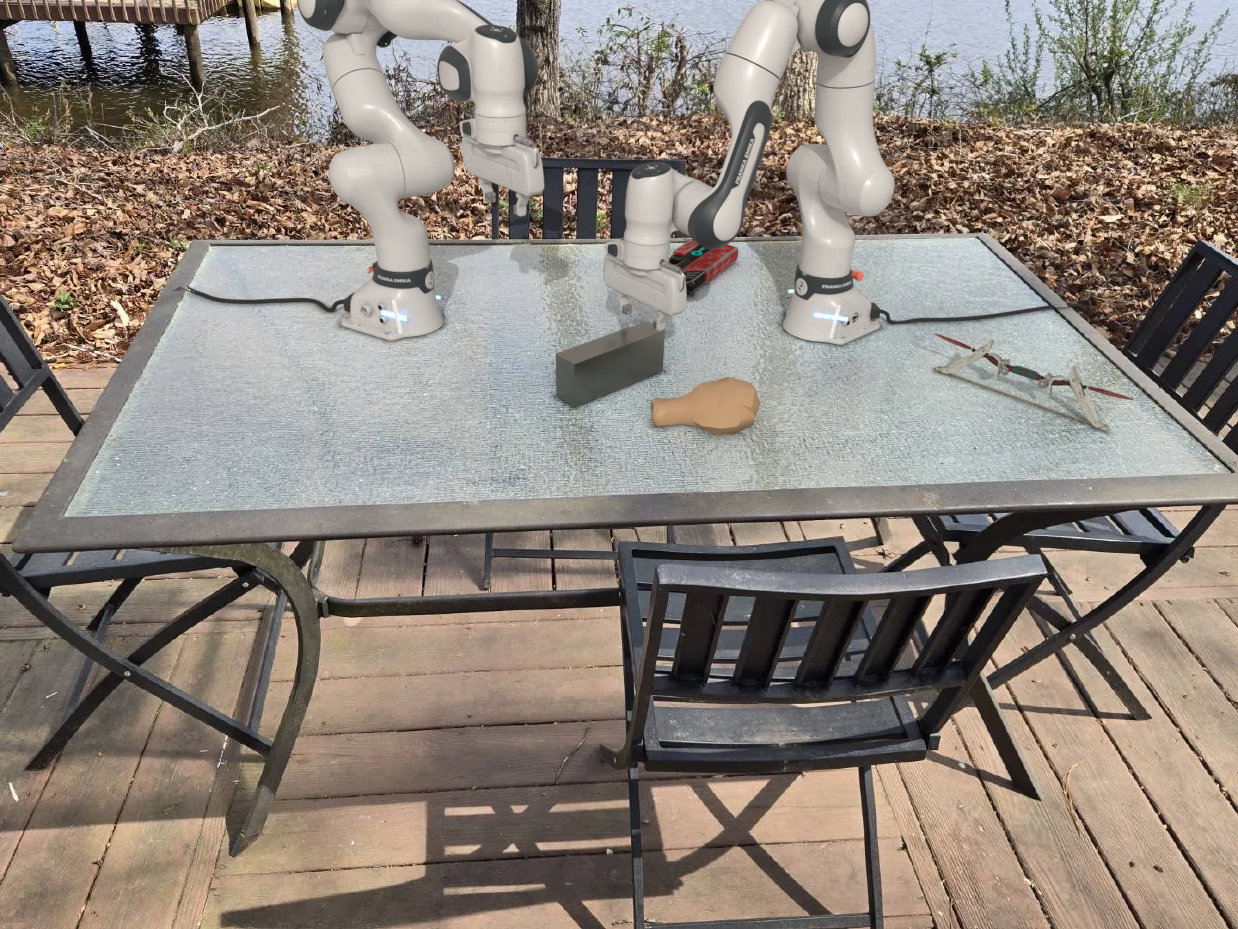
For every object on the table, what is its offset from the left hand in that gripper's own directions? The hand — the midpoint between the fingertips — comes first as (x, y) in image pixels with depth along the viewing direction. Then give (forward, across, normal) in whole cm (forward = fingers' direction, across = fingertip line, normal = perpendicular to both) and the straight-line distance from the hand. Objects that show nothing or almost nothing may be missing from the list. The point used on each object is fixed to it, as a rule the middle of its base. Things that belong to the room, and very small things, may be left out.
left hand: (504, 208), depth 161 cm
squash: (+33, -41, -14) cm, 54 cm away
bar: (+33, -18, -11) cm, 39 cm away
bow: (+33, -74, -69) cm, 106 cm away
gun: (+33, +15, -65) cm, 74 cm away
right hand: (+22, -18, -19) cm, 34 cm away
